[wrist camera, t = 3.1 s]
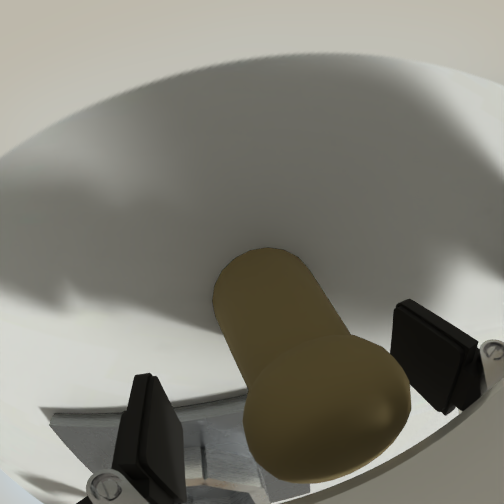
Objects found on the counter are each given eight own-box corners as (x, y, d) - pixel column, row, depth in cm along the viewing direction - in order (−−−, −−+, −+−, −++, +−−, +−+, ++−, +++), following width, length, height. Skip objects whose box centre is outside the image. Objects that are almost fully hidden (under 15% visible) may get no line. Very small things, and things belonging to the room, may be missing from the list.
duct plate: (294, 382, 18) (315, 426, 14) (306, 482, 23) (318, 511, 19) (54, 413, 16) (38, 449, 11) (142, 504, 21) (141, 532, 16)
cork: (251, 359, 17) (303, 514, 6) (190, 290, 15) (183, 468, 5) (330, 304, 17) (447, 423, 6) (280, 225, 15) (425, 315, 5)
